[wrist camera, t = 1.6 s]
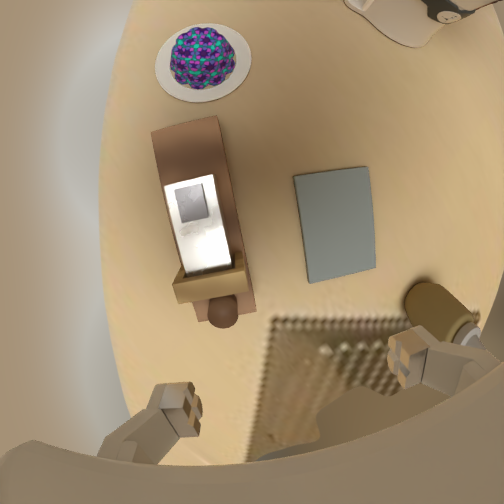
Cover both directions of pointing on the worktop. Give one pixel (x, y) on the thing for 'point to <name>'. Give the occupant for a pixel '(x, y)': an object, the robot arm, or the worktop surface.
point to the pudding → (203, 62)
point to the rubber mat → (336, 222)
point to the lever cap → (200, 226)
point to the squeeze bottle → (442, 315)
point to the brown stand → (214, 162)
